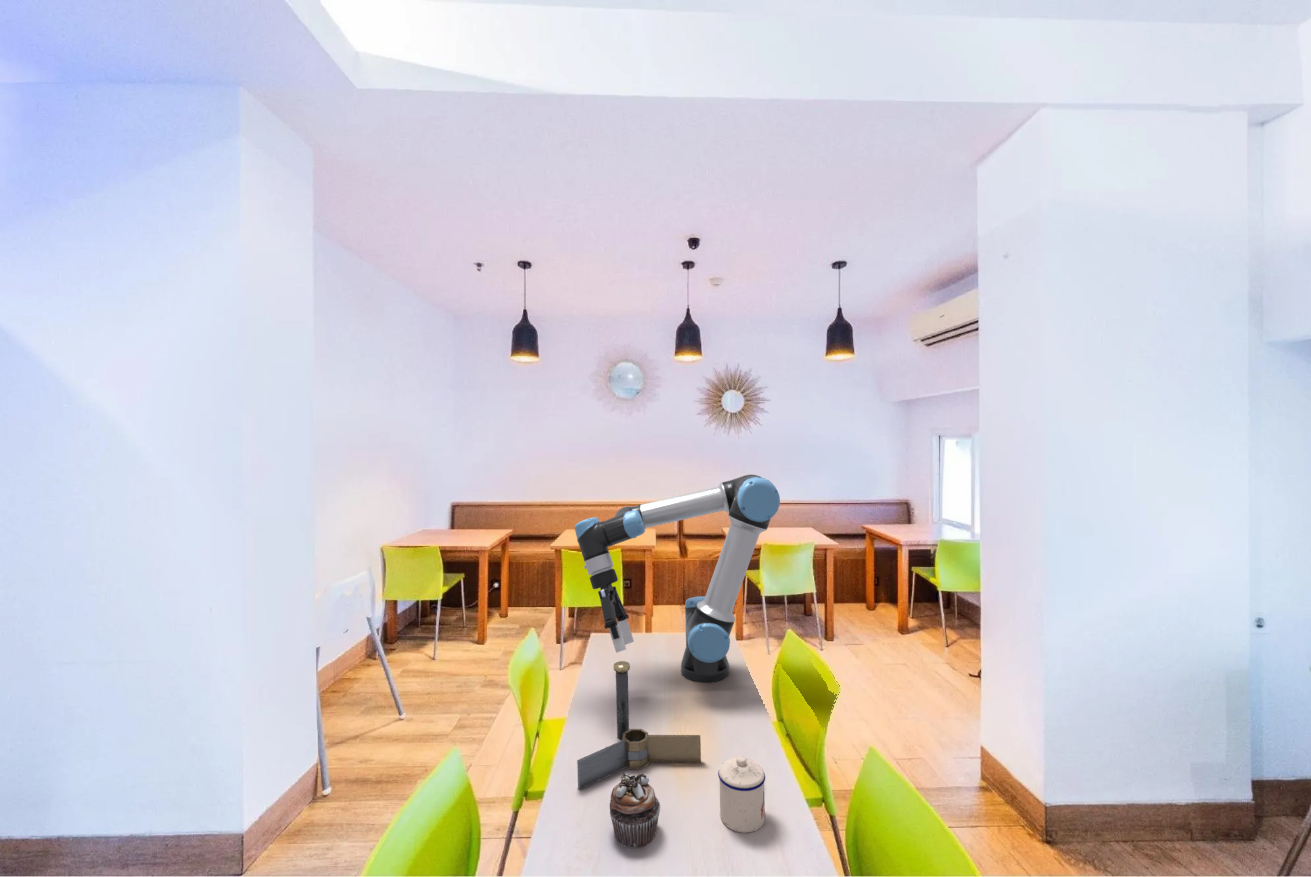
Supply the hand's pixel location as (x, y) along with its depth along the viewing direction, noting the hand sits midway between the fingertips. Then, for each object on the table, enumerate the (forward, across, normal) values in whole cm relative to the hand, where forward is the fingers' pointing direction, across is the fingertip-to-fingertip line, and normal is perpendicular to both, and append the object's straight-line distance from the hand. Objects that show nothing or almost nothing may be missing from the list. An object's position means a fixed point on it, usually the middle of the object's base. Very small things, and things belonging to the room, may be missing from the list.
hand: (625, 647), depth 147 cm
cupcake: (+29, +40, -1) cm, 49 cm away
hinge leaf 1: (+22, +23, -6) cm, 33 cm away
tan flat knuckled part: (+25, +19, +4) cm, 31 cm away
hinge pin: (+19, +10, -5) cm, 22 cm away
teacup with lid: (+34, +33, +18) cm, 51 cm away
